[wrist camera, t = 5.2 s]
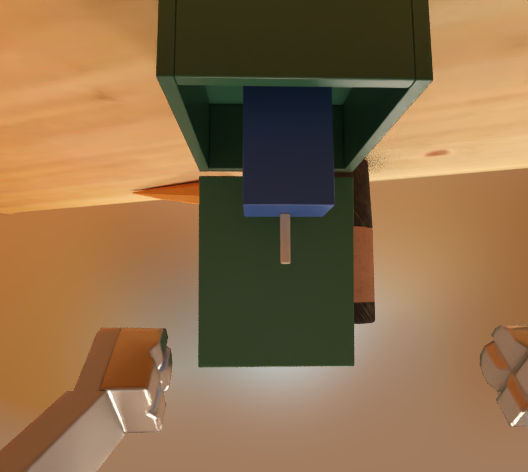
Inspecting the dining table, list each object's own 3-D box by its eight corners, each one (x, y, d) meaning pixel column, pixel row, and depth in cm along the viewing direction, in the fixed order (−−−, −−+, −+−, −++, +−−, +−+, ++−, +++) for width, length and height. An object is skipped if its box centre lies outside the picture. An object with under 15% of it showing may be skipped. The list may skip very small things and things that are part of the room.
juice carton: (243, 24, 22) (242, 260, 20) (330, 25, 22) (336, 260, 21) (244, 60, 26) (243, 264, 24) (319, 61, 26) (324, 264, 24)
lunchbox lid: (198, 367, 31) (205, 351, 36) (354, 366, 31) (341, 350, 36) (198, 176, 31) (205, 184, 36) (353, 176, 32) (340, 185, 36)
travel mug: (325, 152, 46) (329, 324, 44) (381, 158, 48) (388, 322, 46) (301, 171, 53) (303, 319, 51) (351, 175, 55) (356, 317, 53)
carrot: (237, 171, 56) (228, 197, 54) (248, 190, 60) (240, 215, 58) (128, 173, 64) (117, 196, 62) (143, 189, 67) (133, 211, 65)
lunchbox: (160, -50, 18) (155, 76, 17) (425, -45, 19) (433, 79, 18) (201, 98, 33) (199, 171, 32) (349, 100, 33) (352, 172, 32)
